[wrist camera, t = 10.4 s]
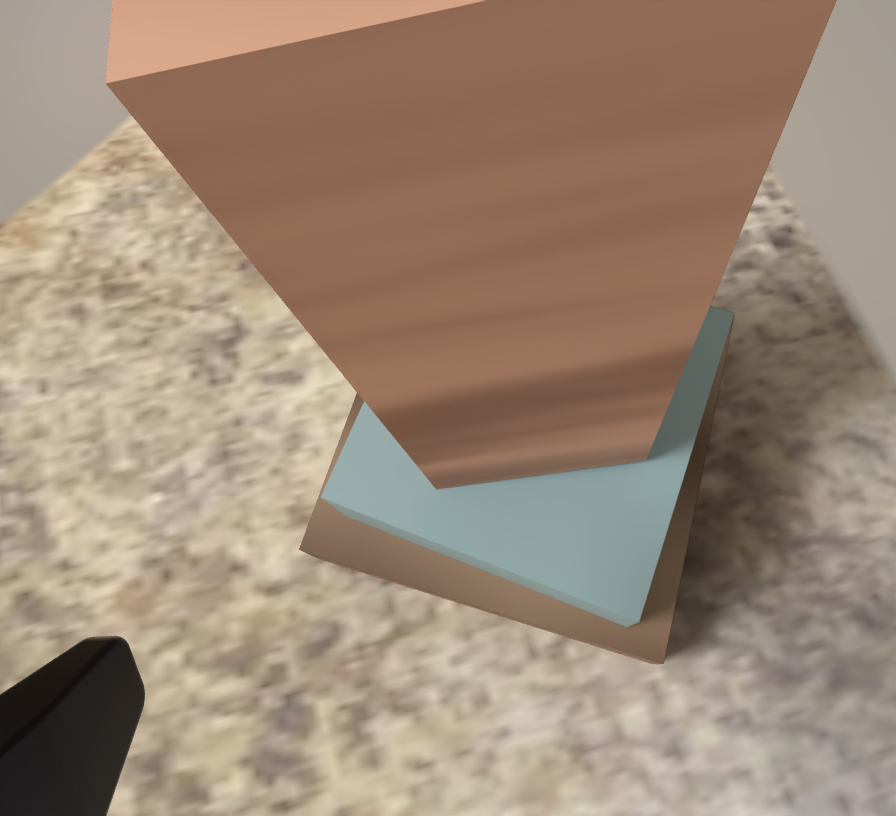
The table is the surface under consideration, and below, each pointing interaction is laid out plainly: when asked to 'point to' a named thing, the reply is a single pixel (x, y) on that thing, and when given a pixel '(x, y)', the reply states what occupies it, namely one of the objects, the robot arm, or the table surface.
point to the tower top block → (542, 504)
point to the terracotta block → (480, 194)
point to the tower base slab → (484, 591)
